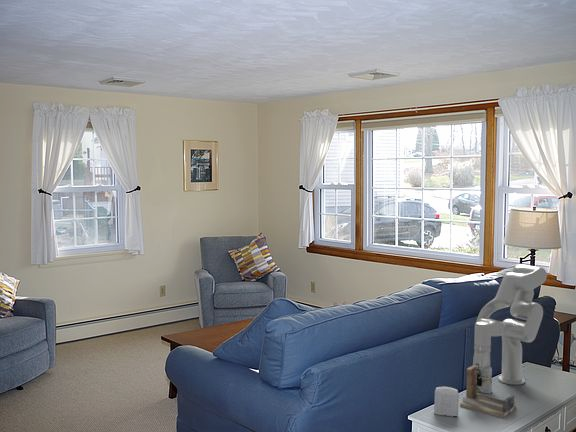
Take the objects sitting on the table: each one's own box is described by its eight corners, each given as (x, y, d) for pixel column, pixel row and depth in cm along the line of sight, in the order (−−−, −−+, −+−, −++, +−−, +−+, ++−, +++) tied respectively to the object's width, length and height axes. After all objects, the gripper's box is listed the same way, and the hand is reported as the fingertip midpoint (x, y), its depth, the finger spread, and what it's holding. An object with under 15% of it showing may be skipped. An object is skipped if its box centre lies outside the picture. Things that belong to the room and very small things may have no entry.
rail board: (474, 397, 288) (474, 383, 288) (516, 408, 275) (516, 394, 274) (460, 405, 278) (460, 391, 277) (502, 417, 264) (503, 403, 264)
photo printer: (458, 414, 269) (458, 386, 268) (458, 417, 265) (458, 390, 264) (434, 411, 272) (434, 384, 271) (433, 415, 268) (434, 387, 267)
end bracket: (472, 396, 285) (473, 365, 283) (476, 397, 283) (477, 366, 282) (466, 400, 280) (466, 368, 279) (470, 401, 279) (470, 369, 277)
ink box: (491, 390, 296) (492, 366, 296) (490, 394, 292) (490, 370, 291) (473, 387, 300) (474, 364, 300) (471, 391, 296) (472, 367, 295)
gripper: (483, 342, 303) (482, 377, 305) (466, 350, 291) (466, 386, 292) (497, 345, 298) (497, 380, 300) (481, 353, 286) (481, 390, 287)
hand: (481, 383), depth 296 cm, fingers open, 6 cm apart
